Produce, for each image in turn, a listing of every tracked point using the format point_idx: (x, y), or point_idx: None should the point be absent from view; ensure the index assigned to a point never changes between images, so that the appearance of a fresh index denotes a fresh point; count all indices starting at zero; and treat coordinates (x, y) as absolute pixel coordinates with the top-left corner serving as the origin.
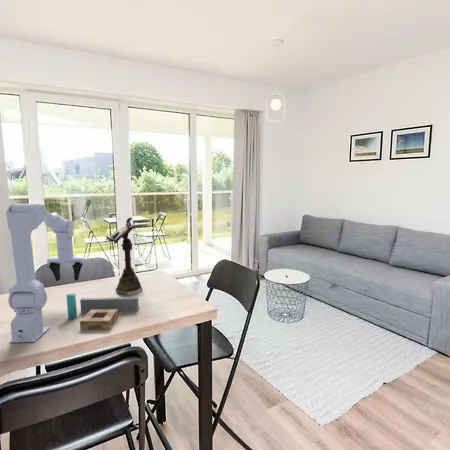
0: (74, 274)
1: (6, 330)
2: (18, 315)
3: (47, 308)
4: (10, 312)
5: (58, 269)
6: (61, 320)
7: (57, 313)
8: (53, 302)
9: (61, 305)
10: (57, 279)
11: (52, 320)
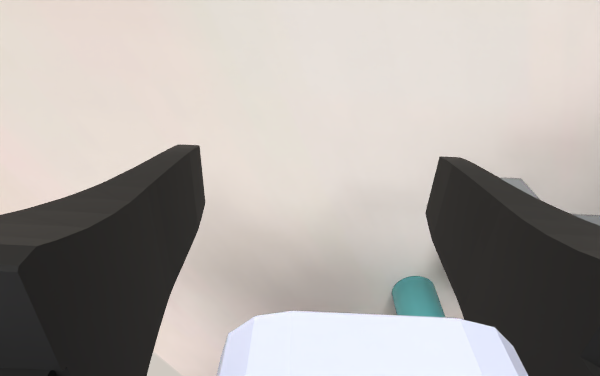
0: (459, 293)
1: (173, 362)
2: None
3: (202, 166)
4: (11, 205)
5: (136, 251)
6: (365, 309)
7: (308, 239)
8: (175, 53)
9: (273, 122)
10: (199, 217)
11: (320, 306)
